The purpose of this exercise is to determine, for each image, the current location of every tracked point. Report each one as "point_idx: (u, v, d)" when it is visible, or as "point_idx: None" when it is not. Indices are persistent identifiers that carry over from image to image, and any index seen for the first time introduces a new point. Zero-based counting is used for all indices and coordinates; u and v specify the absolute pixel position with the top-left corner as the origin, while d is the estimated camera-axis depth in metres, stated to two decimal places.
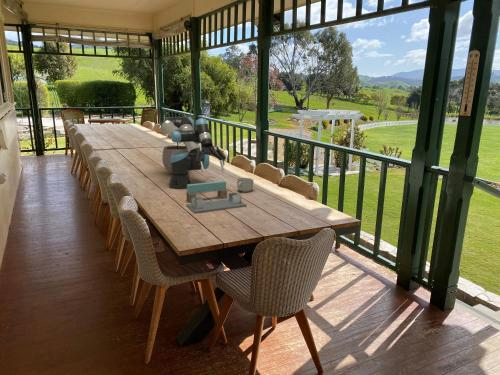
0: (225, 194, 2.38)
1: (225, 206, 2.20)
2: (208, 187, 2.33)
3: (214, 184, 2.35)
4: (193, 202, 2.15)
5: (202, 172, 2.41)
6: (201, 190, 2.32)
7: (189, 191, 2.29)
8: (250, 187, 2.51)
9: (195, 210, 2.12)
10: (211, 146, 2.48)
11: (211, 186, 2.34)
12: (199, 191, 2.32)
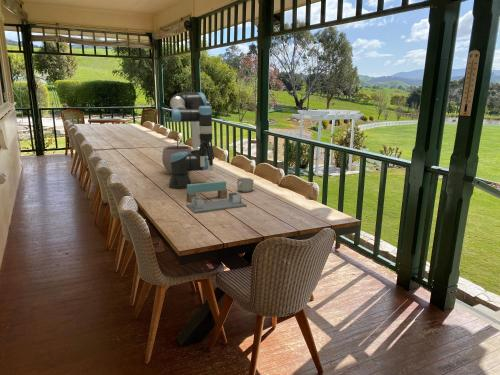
0: (225, 194, 2.38)
1: (225, 206, 2.20)
2: (208, 187, 2.33)
3: (214, 184, 2.35)
4: (193, 202, 2.15)
5: (204, 166, 2.38)
6: (201, 190, 2.32)
7: (189, 191, 2.29)
8: (250, 187, 2.51)
9: (195, 210, 2.12)
10: (205, 141, 2.25)
11: (211, 186, 2.34)
12: (199, 191, 2.32)
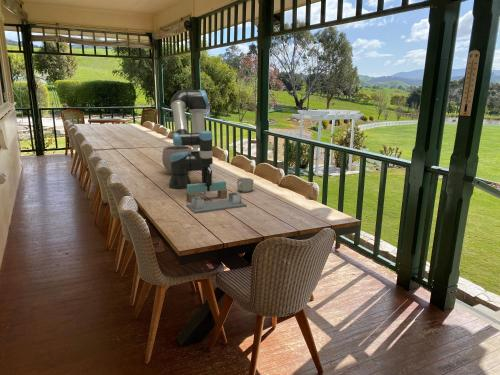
0: (225, 194, 2.38)
1: (225, 206, 2.20)
2: None
3: (214, 184, 2.35)
4: (193, 202, 2.15)
5: None
6: (201, 190, 2.32)
7: (189, 191, 2.29)
8: (250, 187, 2.51)
9: (195, 210, 2.12)
10: (206, 165, 2.28)
11: (211, 186, 2.34)
12: (199, 191, 2.32)
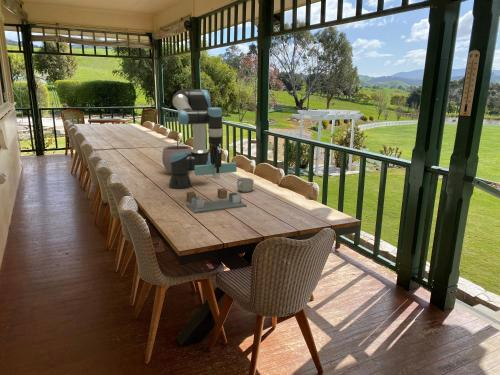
0: (225, 194, 2.38)
1: (225, 206, 2.20)
2: None
3: (224, 165, 2.17)
4: (193, 202, 2.15)
5: None
6: (210, 172, 2.15)
7: (197, 172, 2.11)
8: (250, 187, 2.51)
9: (195, 210, 2.12)
10: (215, 145, 2.11)
11: (220, 168, 2.17)
12: (208, 173, 2.14)
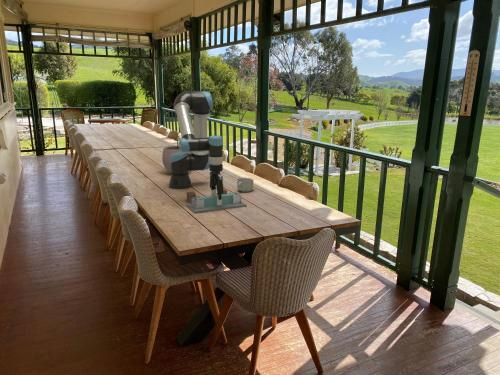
0: None
1: (225, 206, 2.20)
2: None
3: (224, 197, 2.22)
4: (193, 202, 2.15)
5: None
6: (211, 204, 2.19)
7: None
8: (250, 187, 2.51)
9: (195, 210, 2.12)
10: (216, 172, 2.15)
11: None
12: (208, 205, 2.19)
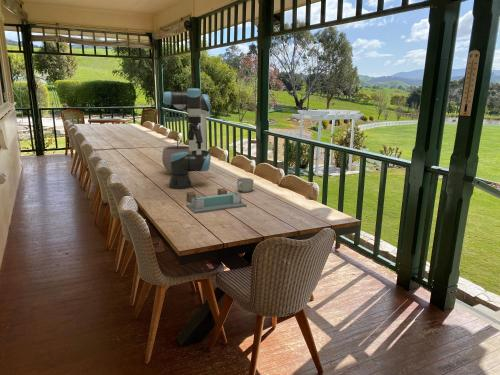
0: None
1: (225, 206, 2.20)
2: (217, 200, 2.21)
3: (224, 197, 2.22)
4: (193, 202, 2.15)
5: (193, 150, 2.35)
6: (211, 204, 2.19)
7: None
8: (250, 187, 2.51)
9: (195, 210, 2.12)
10: (193, 124, 2.22)
11: (221, 199, 2.21)
12: (208, 205, 2.19)
